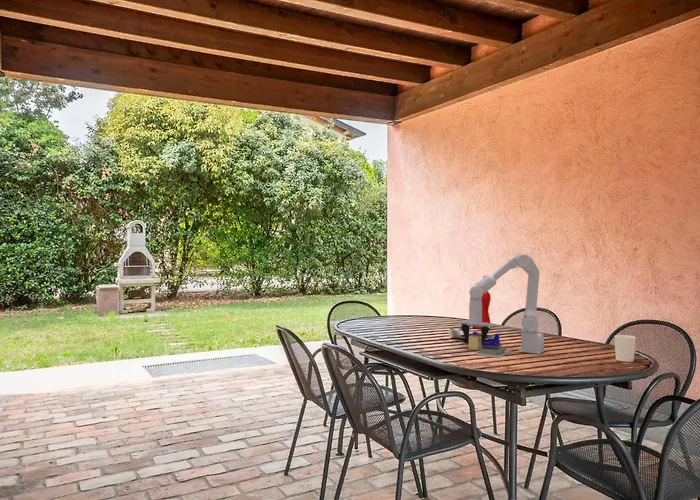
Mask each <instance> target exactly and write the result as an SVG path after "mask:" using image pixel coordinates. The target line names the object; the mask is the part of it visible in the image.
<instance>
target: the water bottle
mask: <svg viewBox="0 0 700 500" xmlns="http://www.w3.org/2000/svg"><path fill="white" fill-rule="evenodd" d="M491 297H492V296H491V292H489V290H488V291H487V292H486V293H483V296H482V322H485V323H491V318H490V313H489V308H490V305H491V304H490V303H491ZM471 325H473V324H471ZM471 327H472V329H478V330H481V328H483V327H477V326H471Z"/></svg>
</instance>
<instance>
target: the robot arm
mask: <svg viewBox="0 0 700 500" xmlns="http://www.w3.org/2000/svg"><path fill="white" fill-rule="evenodd" d="M518 268H521V269H522V270H523V271H524V272H525V273H527V287H526V297H525V298H526V299H525V310H524V316H523V318H522V319H521V325H522V327H523V328H522V329H521V332H520V333H521V334H520V339H521V341H520V343H521V344H520V346H521V347H520V349H518V350H517V351H518V352H521V353H530V354H537V355H538V354H539V355H541V354H542V353H544V352H545V336H544V333H543V332H539V330H538V328H539V322H538V319H537V317H538V316H537V315H538V314H537V308H538V297H539V294H538V293H539V285H540V284H539V283H540V269H539V268H538V266H537V265H536V263H535V261H534V259H533V258H532V257H531V256H530V255H529V254H527V253H523V252H521V253H518V254H516V255H515V256H513V257H511V258H510V259H508V260H507V261H506V262H505V263H504V264H503V265H501V266H500V267H499V268H498V269H496V270H495V272H493V273H492V274H487V275H483V276H482V279H481V280H479V281H478V282H475V283H474V285H473V286H471V287H470V289H469V292H468V294H469V296H470V297H469V303H468V304H469V305H468V306H469V307H468V312H469V313H468V320H459V326H460V329H461V330H462V333H463V336H464V341H465V342H467V343H468V342H469V336H470V328H471V327H472V326H477V327H483V328H481V329H480V333H481V336H482V339H481V343H485V342H486V339H487V336H488V334H489V331H490V329H491V328H492V323H491V322H490V323H485V322H482V296H483V293H486V292H487V291H488V292H489V290H491V289H492V288H493V287H495V286H496V285H497V281H498V280H499V279H500V278H501V277H502V276H504V275H505V274H506V273H508V272H509V271H510V270H513V269H518ZM472 324H473V325H472Z"/></svg>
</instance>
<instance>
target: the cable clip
mask: <svg viewBox="0 0 700 500" xmlns="http://www.w3.org/2000/svg"><path fill="white" fill-rule="evenodd" d="M472 335H478V336H479V334H478V331H473V332H472ZM484 346H494V347H500V346H501V340H500V333H498V332H497V333H495V334H494V337H493V339H492V340H491V341H485V343H482V347H484Z"/></svg>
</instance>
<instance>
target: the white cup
mask: <svg viewBox="0 0 700 500" xmlns="http://www.w3.org/2000/svg"><path fill="white" fill-rule="evenodd" d="M614 352H615V360H616V361H619V362H624V363H631V362H635V361H634V360H635V353H636V336H633V335H626V334H616V335H614Z"/></svg>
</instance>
